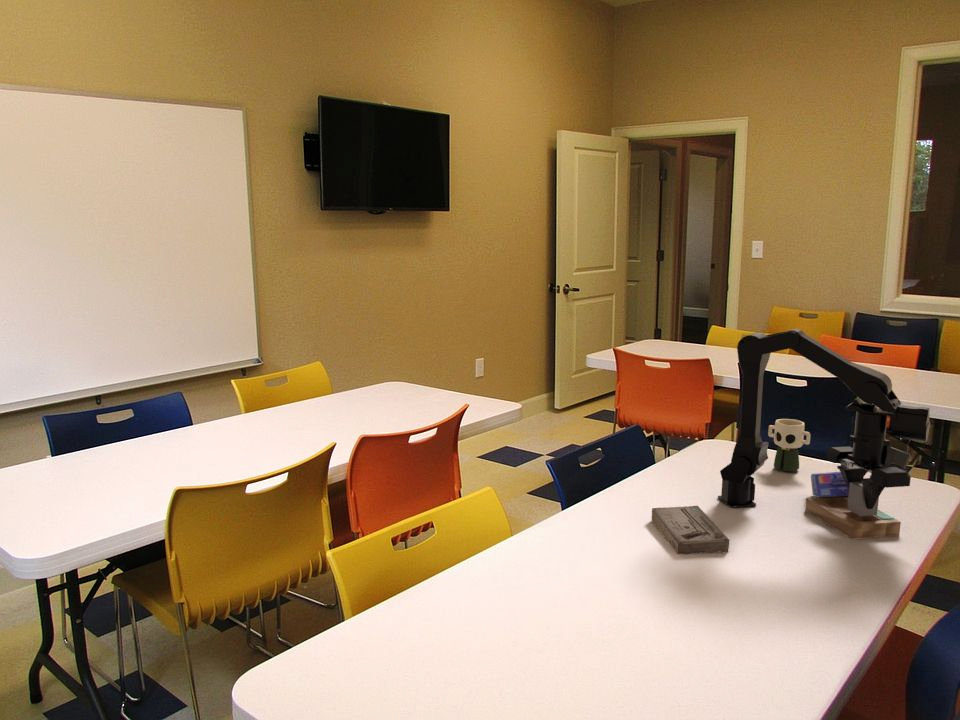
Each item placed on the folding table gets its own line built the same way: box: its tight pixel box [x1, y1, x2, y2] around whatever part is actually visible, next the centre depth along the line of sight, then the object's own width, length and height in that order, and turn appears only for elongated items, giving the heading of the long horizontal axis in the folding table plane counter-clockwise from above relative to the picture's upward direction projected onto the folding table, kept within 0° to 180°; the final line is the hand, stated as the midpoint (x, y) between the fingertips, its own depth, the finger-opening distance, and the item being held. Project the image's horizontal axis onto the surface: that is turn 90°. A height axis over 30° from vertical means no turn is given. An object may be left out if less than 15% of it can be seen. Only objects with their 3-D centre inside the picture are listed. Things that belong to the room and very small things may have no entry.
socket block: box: [805, 496, 902, 540], centre depth 160 cm, size 11×16×3 cm
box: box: [651, 505, 730, 555], centre depth 153 cm, size 11×17×3 cm, turn 5°
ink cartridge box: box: [810, 471, 849, 497], centre depth 169 cm, size 10×6×14 cm
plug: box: [847, 481, 880, 516], centre depth 155 cm, size 4×4×6 cm
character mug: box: [767, 418, 811, 472], centre depth 195 cm, size 11×7×13 cm, turn 46°
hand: (862, 505), depth 156 cm, fingers closed on plug, 4 cm apart
